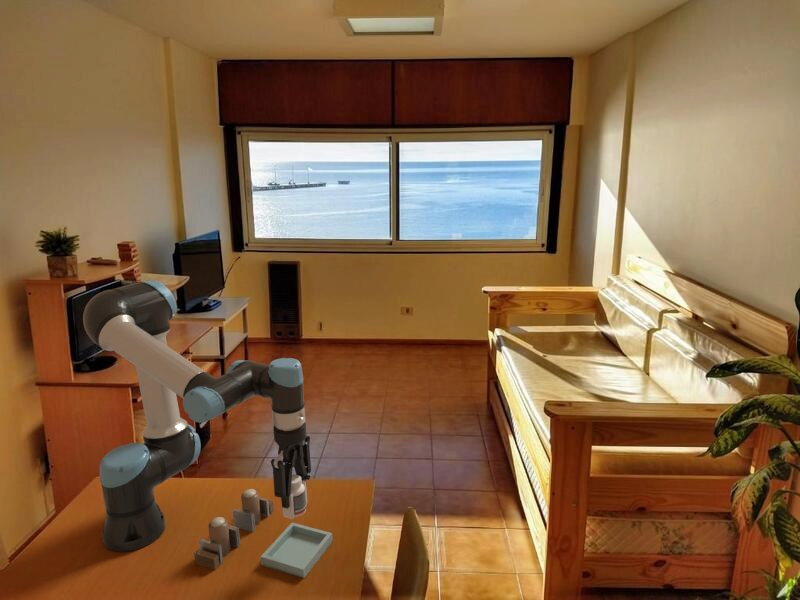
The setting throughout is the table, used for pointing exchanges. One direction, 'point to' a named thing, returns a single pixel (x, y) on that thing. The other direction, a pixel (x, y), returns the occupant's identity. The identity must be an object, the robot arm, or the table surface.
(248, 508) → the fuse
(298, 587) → the table surface
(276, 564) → the tray
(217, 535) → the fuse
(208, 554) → the clip rail
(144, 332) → the robot arm
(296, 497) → the pill bottle
